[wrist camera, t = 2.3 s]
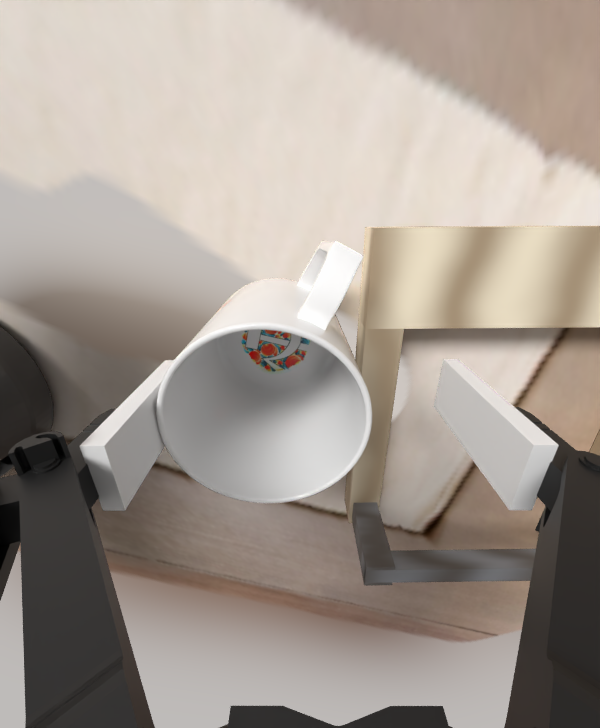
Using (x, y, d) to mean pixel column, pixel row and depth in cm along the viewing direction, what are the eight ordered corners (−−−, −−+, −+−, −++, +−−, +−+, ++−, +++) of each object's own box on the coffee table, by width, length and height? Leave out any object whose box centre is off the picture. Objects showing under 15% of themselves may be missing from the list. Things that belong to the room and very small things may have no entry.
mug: (305, 405, 25) (312, 526, 15) (201, 362, 24) (131, 466, 14) (384, 268, 21) (467, 310, 11) (263, 203, 19) (228, 182, 9)
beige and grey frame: (344, 500, 30) (360, 589, 23) (365, 226, 20) (405, 230, 13) (593, 497, 30) (687, 585, 23) (737, 225, 20) (986, 227, 13)
